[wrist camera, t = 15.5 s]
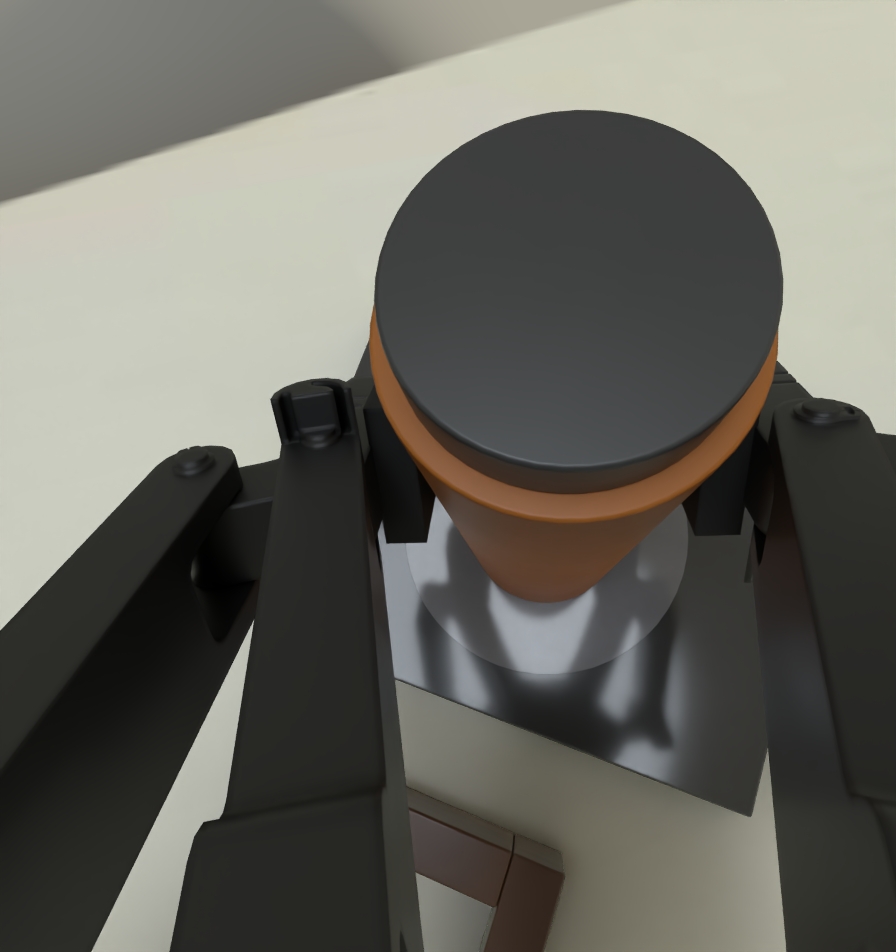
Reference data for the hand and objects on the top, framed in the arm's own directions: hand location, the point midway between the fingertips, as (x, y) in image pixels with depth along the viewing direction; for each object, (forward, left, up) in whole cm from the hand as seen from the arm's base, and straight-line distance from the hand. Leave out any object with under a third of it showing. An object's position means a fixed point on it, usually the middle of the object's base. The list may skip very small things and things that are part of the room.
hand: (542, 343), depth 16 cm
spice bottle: (+1, -4, -6) cm, 7 cm away
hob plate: (+1, -4, -7) cm, 8 cm away
